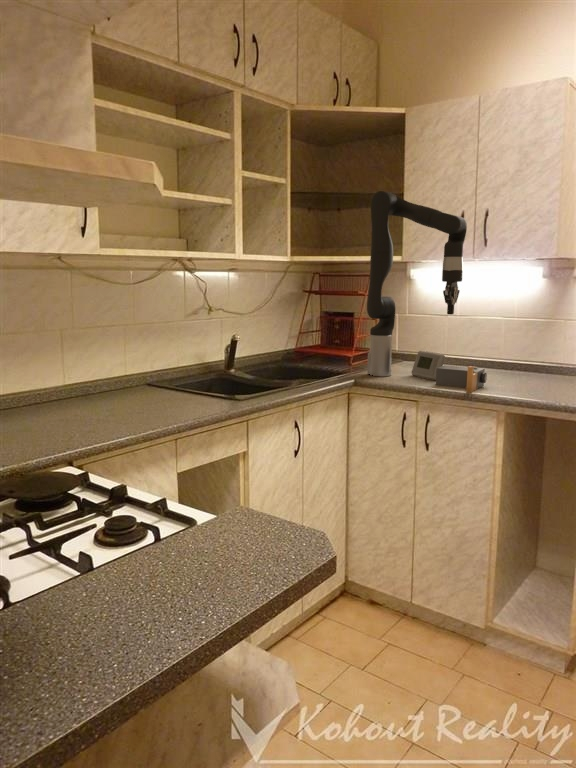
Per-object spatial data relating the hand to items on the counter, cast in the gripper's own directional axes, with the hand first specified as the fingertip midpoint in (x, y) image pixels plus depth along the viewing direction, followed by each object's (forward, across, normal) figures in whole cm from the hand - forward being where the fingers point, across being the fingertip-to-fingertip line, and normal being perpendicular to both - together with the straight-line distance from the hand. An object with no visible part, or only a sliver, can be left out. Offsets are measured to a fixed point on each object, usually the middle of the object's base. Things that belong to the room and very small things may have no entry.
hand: (450, 314), depth 236 cm
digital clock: (+27, -7, -11) cm, 30 cm away
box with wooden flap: (+27, +3, +6) cm, 28 cm away
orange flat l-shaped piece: (+27, +13, +14) cm, 33 cm away
